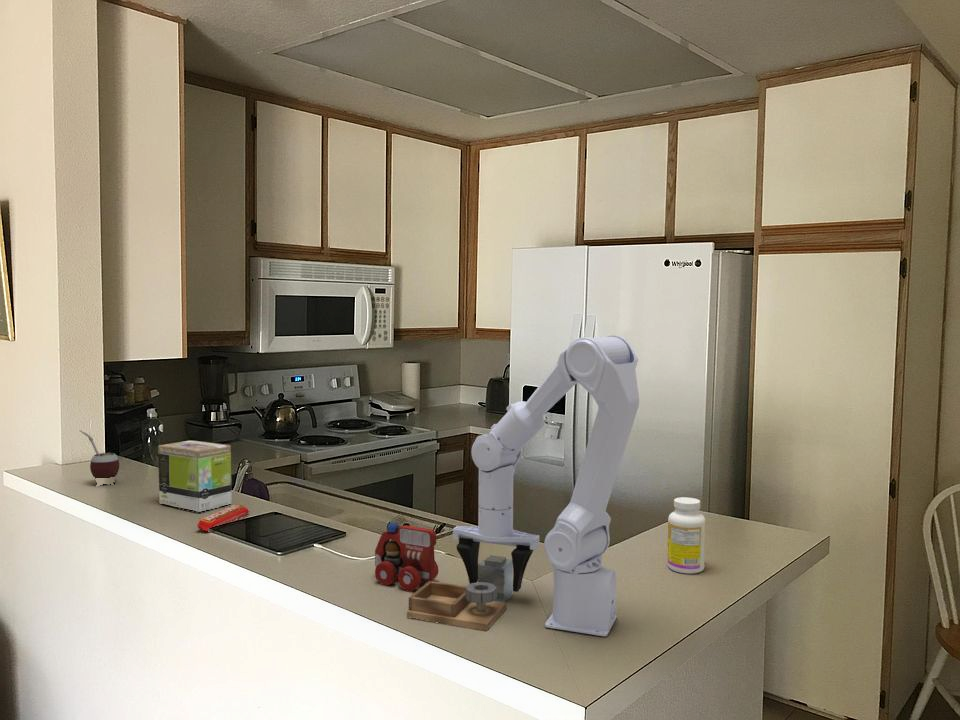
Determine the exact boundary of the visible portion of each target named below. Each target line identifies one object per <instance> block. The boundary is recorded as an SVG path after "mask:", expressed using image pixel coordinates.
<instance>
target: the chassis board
mask: <svg viewBox="0 0 960 720" xmlns="http://www.w3.org/2000/svg"><path fill="white" fill-rule="evenodd" d="M467 586H468V585H459V584H453V583H447V582H439V581H433V580H431V581H429V582H426V583H425V584H424V585H423V586H421V587H420V588H419V589H417V591H415V592H413V594H411V595H410V596H408V610H407V611H406V618H407V617H411V618H418V619H423V620H428V621H427V622H429V621H434V622H433V623H435V622H438V623H437V624H441V623H443V625H447V624H448V626H455V627H460V628H467V629H473V630H477V631H478V630H479V631H486V632H487V631H488V630H489V629H490V628H491V627H492V626H493V625H494V623H496V621H497V620H498V619H499V618H500V617H501V616H502V615H503V614H504V612H505V611H506V610H507V602H498V601H492V602H490V603H484V604H482V603H481V604H480V603H473V602H469V601H468V600H467V599H466V587H467ZM411 618H410V619H411ZM423 620H422V621H423Z"/></svg>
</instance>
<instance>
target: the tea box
mask: <svg viewBox="0 0 960 720" xmlns="http://www.w3.org/2000/svg"><path fill="white" fill-rule="evenodd" d="M157 448H158V450H157V453H158V454H157V456H158V457H157V458H158V488H159V489H158V490H159V491H158V495H159V497H158V498H159V501H160V500H161V501H163V502H167V503H170V504H174V505H177V506H181V507H184V508H188V509H191V510H195V511H202V510H206V509H210V508H215V507H219V506H223V505H228V504H231V505H232V498H233V497H232V452H231V450H232V449H231V445H230V444H225V443H224V444H223V443H217V442H210V441H209V442H208V441H201V440H200V441H199V440H186V441H177V442H172V443H165V444H159V445H158V446H157ZM228 506H229V505H228Z"/></svg>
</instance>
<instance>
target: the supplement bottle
mask: <svg viewBox="0 0 960 720" xmlns="http://www.w3.org/2000/svg"><path fill="white" fill-rule="evenodd" d="M673 506H674V511H672V512H671V513H670V514H669V515H668V518H667V519H668V520H667V566H668V568H669V569H670V570H672V571H674V572H677V573H682V574H688V575H689V574H690V575H691V574H697V573H702V572H703V570H704V569H705V567H706V566H705V565H706V563H705V562H706V560H705V559H706V518H705V516H704V515H703V514H702V513H700V509H701V500H700V499H698V498H694V497H686V496H684V497H683V496H681V497H676V498H674V499H673Z"/></svg>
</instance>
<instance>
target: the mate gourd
mask: <svg viewBox="0 0 960 720" xmlns="http://www.w3.org/2000/svg"><path fill="white" fill-rule="evenodd" d="M79 432H80V433H82V434H83V435H84V436H86V437H87V438H88V440H89V442H90V443H91V445H92V448H93V450H94V452H95V454H94V455H93V456H92V458H91V460H90V465H89V467H90V472H91V475H92V477H93V478H94V477H95V478H110V477H115V476H116V477H117V475H118V473H119V469H120V460H119V457H118V455H117V454H116V453H115V452H114V453H113V452H102V453H101V452H100V453H99V451H98V448H97V447H96V444H95V442H94V439H93V436H91V435H90V434H88V433H86V432H84V431H83V430H79ZM116 477H115V478H116ZM95 478H94V479H95Z"/></svg>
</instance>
